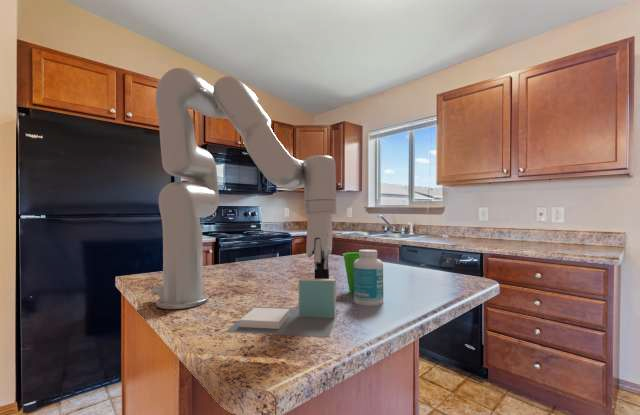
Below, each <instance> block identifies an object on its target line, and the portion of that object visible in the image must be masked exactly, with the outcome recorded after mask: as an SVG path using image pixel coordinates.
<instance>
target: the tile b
mask: <svg viewBox="0 0 640 415" xmlns="http://www.w3.org/2000/svg"><path fill="white" fill-rule="evenodd" d="M297 281H298V308H299V316H301V317H324V318H335V317H337V315H336V310H337V302H336V301H337V296H336V294H337V292H336V290H337V288H336V282H337V280H336V278H329V279H315V278H307V277H306V278H304V277H299V278H298V280H297ZM335 319H336V318H335Z"/></svg>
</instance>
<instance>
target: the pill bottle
mask: <svg viewBox="0 0 640 415" xmlns="http://www.w3.org/2000/svg"><path fill="white" fill-rule="evenodd" d="M358 252H359V256H360V258H359V259H357V260H355V262H354V294H353V302H354V303H356V304H357V305H360V306H365V307H366V306H371V307H372V306H380V305H382V304H383V303H384V263H383V261H382V260H381V259H379V258H378V250H377V249H359V250H358Z"/></svg>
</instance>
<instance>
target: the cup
mask: <svg viewBox="0 0 640 415" xmlns="http://www.w3.org/2000/svg"><path fill="white" fill-rule="evenodd" d="M342 256H343V259H344V267H345V273H346V278H347V284H348V290H349V293H350V294H353V295H354V262H355V260H357V259H359V258H360V256H359V251H358V252H354V251H353V252H344V253H342Z"/></svg>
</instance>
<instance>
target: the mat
mask: <svg viewBox="0 0 640 415" xmlns="http://www.w3.org/2000/svg"><path fill="white" fill-rule="evenodd" d="M254 308H278V309H290V316H289V317H288V318H287V319H286V321H285V322H284V323H283V325H282V326H281V327H280V328H279V329H258V328H241V327H240V319H239V320H238V321H237V322H235V323H234V324H233V325H232V326H230V327H229V328H228V329H227V330H226V331H225V333H238V334H239V333H240V334H257V335H258V334H259V335H275V336H293V337H298V336H299V337H315V338H330V335H331V332H332V330H333V327H334V323H335V320H336V317H337V315H338V312H339V309H336V317H335V318H324V317H301V316H299V307H296V308H294V307H273V306H270V307H269V306H255V307H254ZM254 308H252V309H254ZM248 313H249V312H247V313H246V314H248Z"/></svg>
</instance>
